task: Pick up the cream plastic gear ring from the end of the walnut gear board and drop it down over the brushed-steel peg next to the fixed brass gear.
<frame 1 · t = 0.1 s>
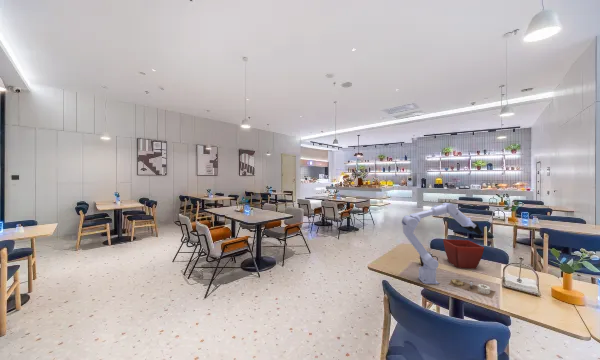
hand: (476, 232, 147), 32 cm above the table, tool tilted 50°, fingers open, 7 cm apart
cream gear ring: (483, 291, 134), point 1 cm above the table, touching walnut gear board
plant pot: (462, 265, 175), on the table
coffee mug: (427, 266, 173), on the table
walnut gear board: (471, 289, 138), on the table
steel peg: (471, 284, 138), point 3 cm above the table
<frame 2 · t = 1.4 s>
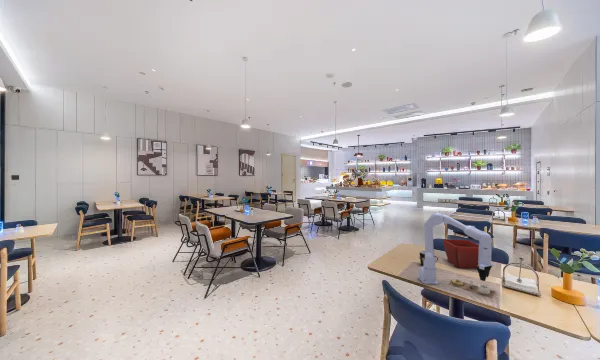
hand: (484, 278, 134), 9 cm above the table, tool pointing down, fingers open, 7 cm apart
nothing on the table moved.
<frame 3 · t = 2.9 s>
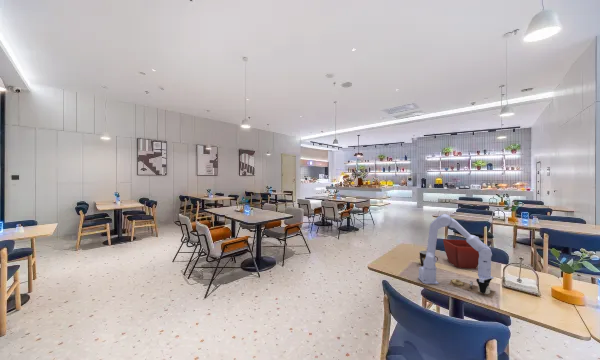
hand: (483, 291, 134), 2 cm above the table, tool pointing down, fingers closed on cream gear ring, 5 cm apart
cream gear ring: (483, 291, 134), point 1 cm above the table, touching gripper, walnut gear board
everything else where it was.
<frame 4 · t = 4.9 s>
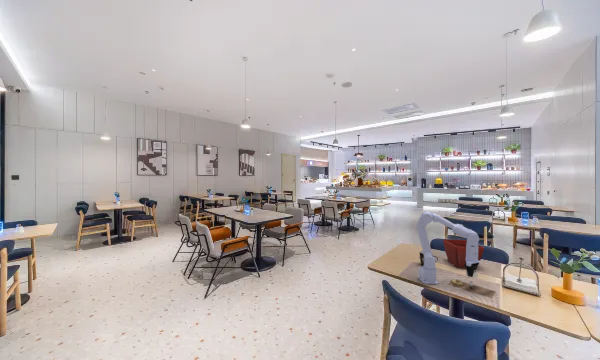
hand: (471, 275, 138), 9 cm above the table, tool pointing down, fingers closed on cream gear ring, 5 cm apart
cream gear ring: (471, 275, 138), point 8 cm above the table, touching gripper
everything else where it was.
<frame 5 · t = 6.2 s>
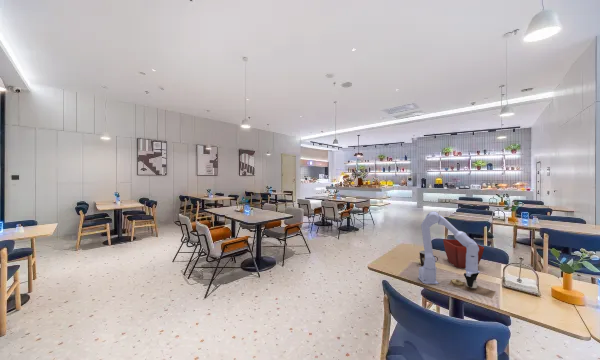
hand: (471, 285, 138), 3 cm above the table, tool pointing down, fingers closed on cream gear ring, 5 cm apart
cream gear ring: (471, 285, 138), point 2 cm above the table, touching gripper
everything else where it was.
when the fingers open (3 cm above the table, at t = 7.2 s): cream gear ring stays where it is, resting on walnut gear board.
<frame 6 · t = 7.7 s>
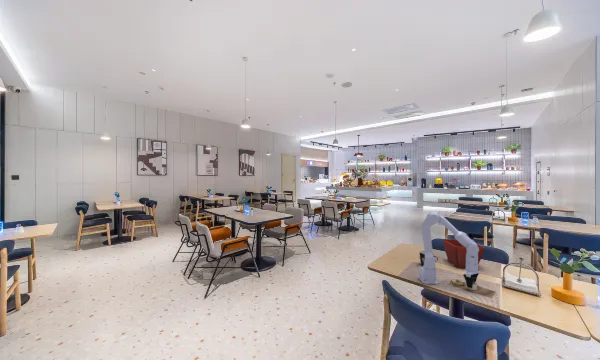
hand: (471, 285, 138), 3 cm above the table, tool pointing down, fingers open, 7 cm apart
cream gear ring: (471, 287, 138), point 1 cm above the table, touching walnut gear board
everything else where it was.
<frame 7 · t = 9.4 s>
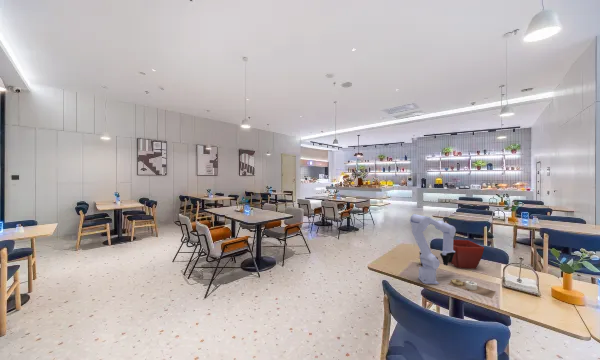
hand: (447, 263, 154), 9 cm above the table, tool pointing down, fingers open, 7 cm apart
nothing on the table moved.
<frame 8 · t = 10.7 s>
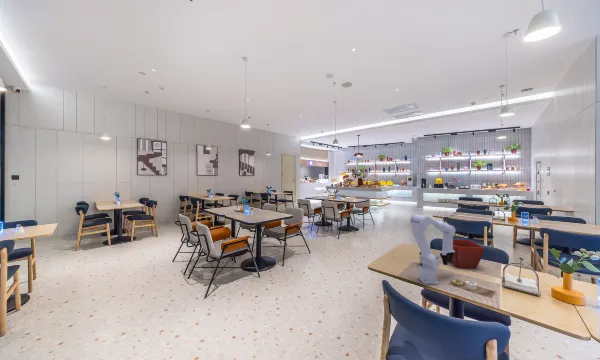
hand: (447, 263, 154), 9 cm above the table, tool pointing down, fingers open, 7 cm apart
nothing on the table moved.
at the end: cream gear ring 0.1 cm from the steel peg (horizontally); cream gear ring point 1.2 cm above the table; the gripper is holding nothing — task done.
